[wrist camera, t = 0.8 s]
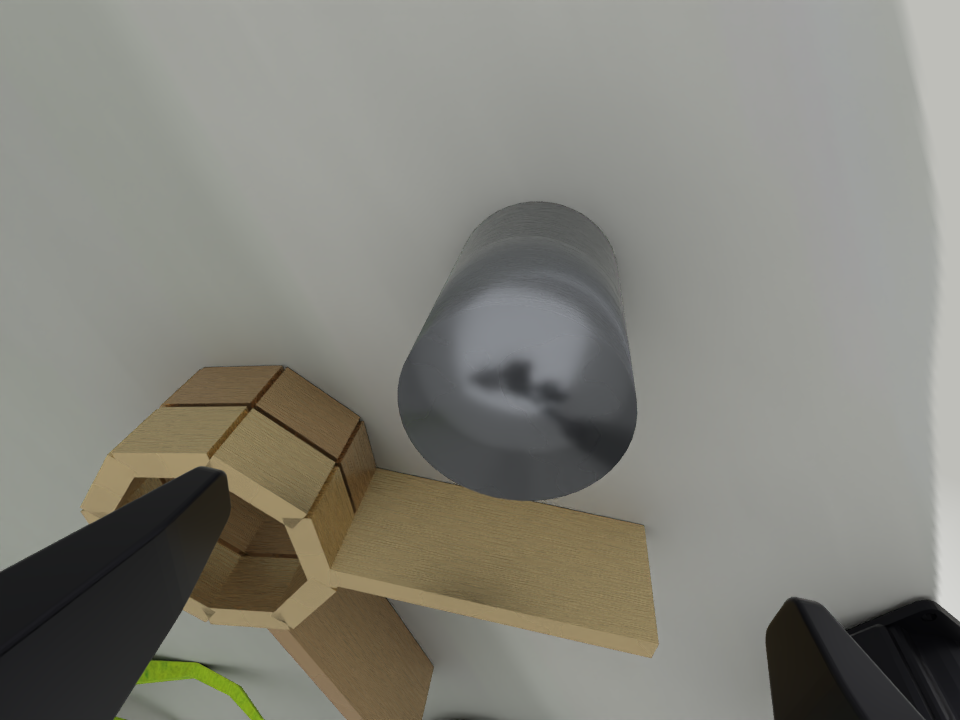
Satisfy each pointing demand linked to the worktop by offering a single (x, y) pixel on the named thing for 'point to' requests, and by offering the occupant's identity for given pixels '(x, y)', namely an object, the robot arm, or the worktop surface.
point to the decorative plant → (189, 670)
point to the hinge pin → (524, 360)
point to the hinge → (368, 541)
